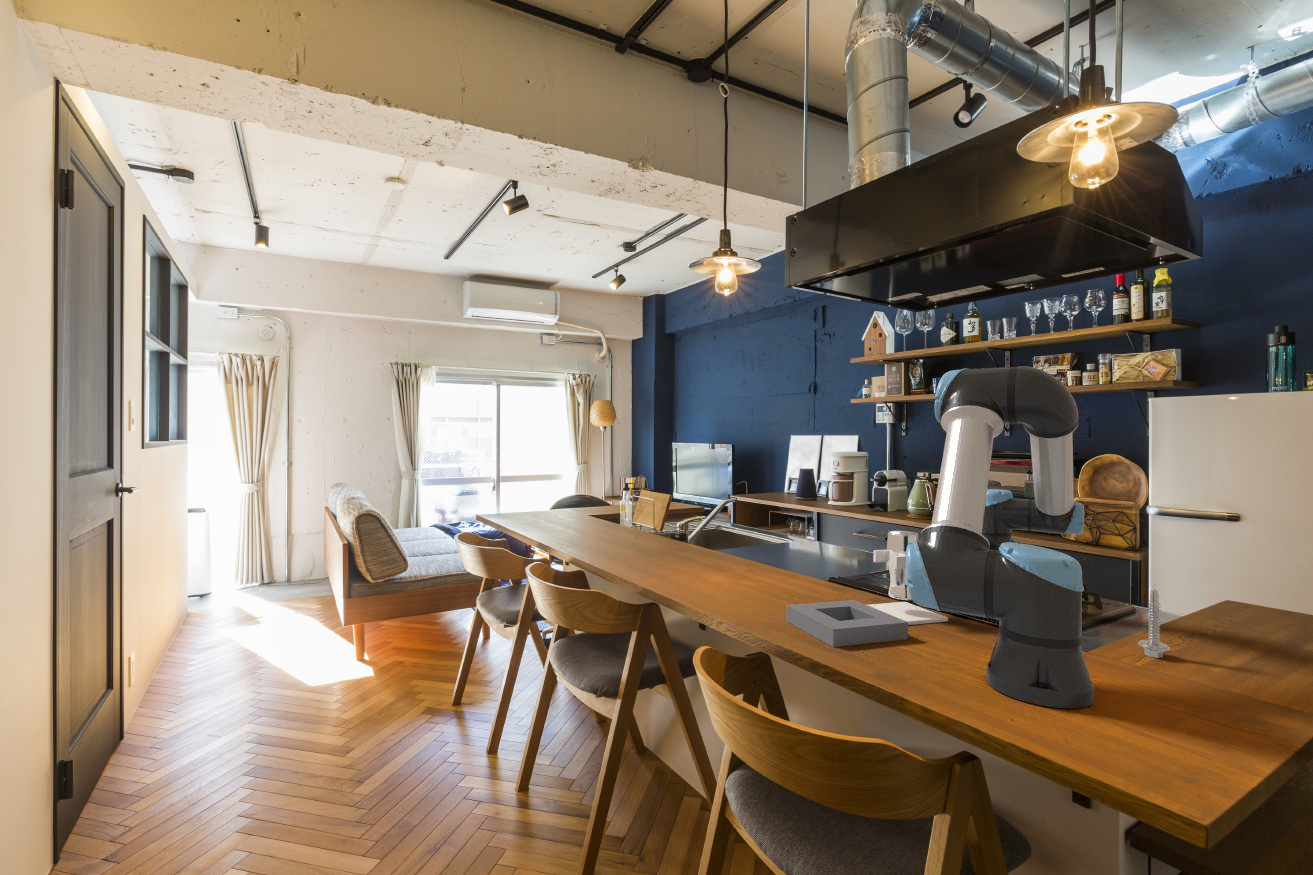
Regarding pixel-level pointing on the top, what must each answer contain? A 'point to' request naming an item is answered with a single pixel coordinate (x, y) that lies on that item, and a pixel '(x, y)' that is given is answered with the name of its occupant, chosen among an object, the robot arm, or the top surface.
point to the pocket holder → (846, 623)
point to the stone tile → (910, 613)
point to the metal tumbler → (894, 548)
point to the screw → (1154, 630)
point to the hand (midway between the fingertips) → (884, 559)
